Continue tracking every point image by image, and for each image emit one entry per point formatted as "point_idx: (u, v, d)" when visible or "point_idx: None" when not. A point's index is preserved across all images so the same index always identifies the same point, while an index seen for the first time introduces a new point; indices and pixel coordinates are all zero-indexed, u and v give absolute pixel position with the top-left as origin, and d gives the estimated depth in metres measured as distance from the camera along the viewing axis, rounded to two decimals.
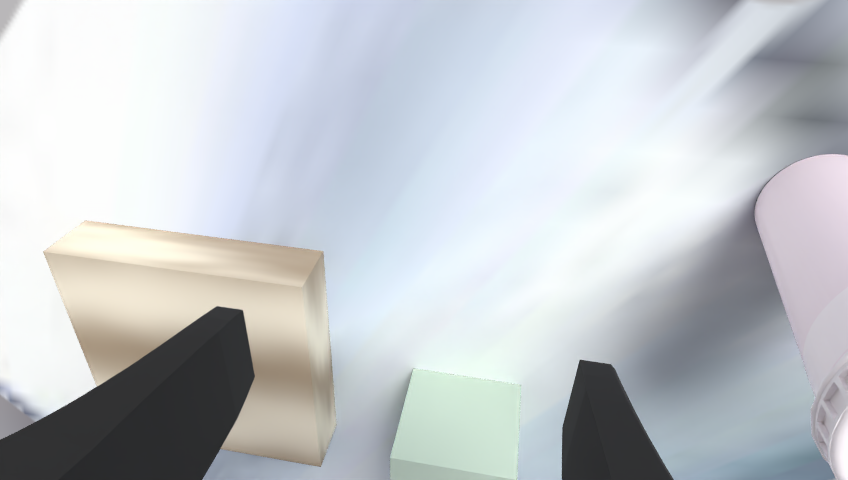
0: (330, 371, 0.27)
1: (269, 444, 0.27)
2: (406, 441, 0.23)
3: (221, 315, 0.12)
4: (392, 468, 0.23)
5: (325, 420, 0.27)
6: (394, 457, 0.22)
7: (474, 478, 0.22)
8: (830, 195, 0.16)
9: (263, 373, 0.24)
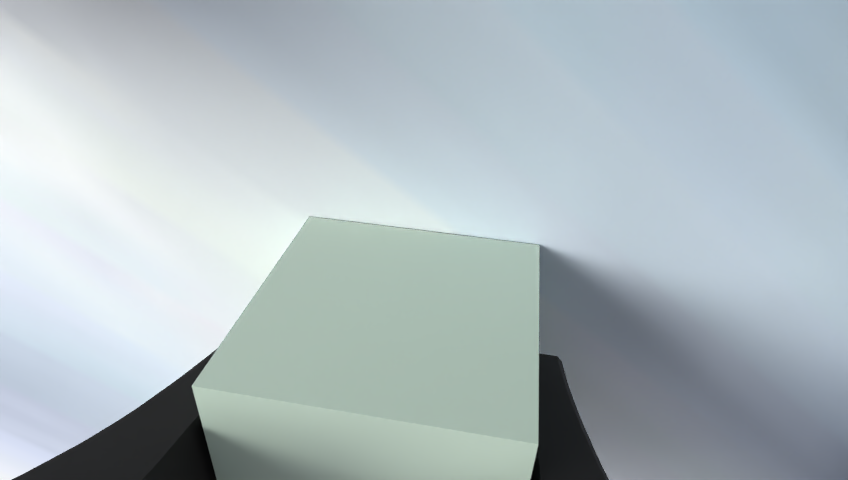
0: None
1: None
2: None
3: None
4: None
5: None
6: None
7: (231, 459, 0.09)
8: None
9: None
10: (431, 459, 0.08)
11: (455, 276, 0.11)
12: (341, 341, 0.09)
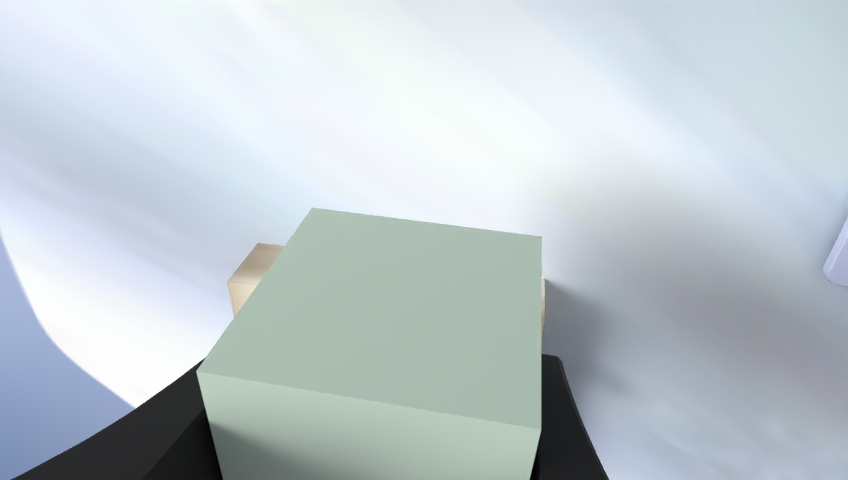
0: None
1: None
2: None
3: None
4: None
5: None
6: None
7: (235, 445, 0.09)
8: None
9: None
10: (434, 445, 0.08)
11: (458, 266, 0.11)
12: (345, 329, 0.09)
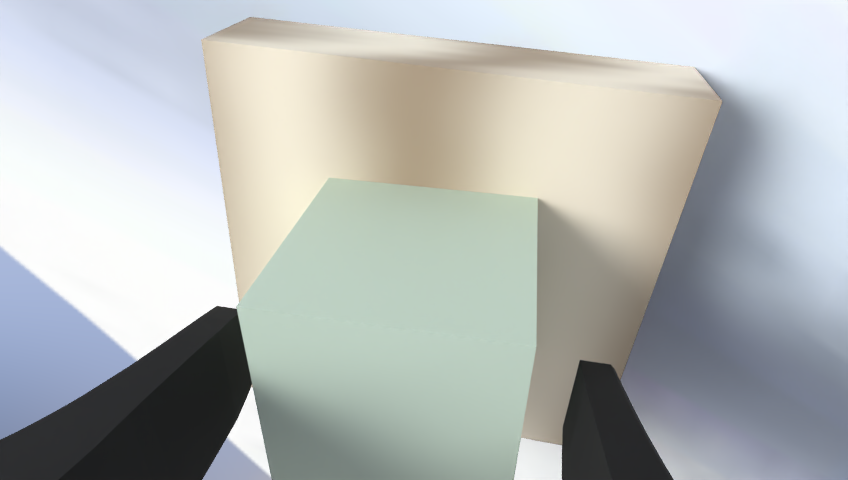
0: (515, 49, 0.14)
1: (635, 203, 0.13)
2: None
3: (220, 315, 0.12)
4: None
5: (610, 73, 0.12)
6: (272, 479, 0.12)
7: (268, 377, 0.10)
8: None
9: (421, 160, 0.13)
10: (444, 366, 0.09)
11: (462, 223, 0.12)
12: (363, 273, 0.10)
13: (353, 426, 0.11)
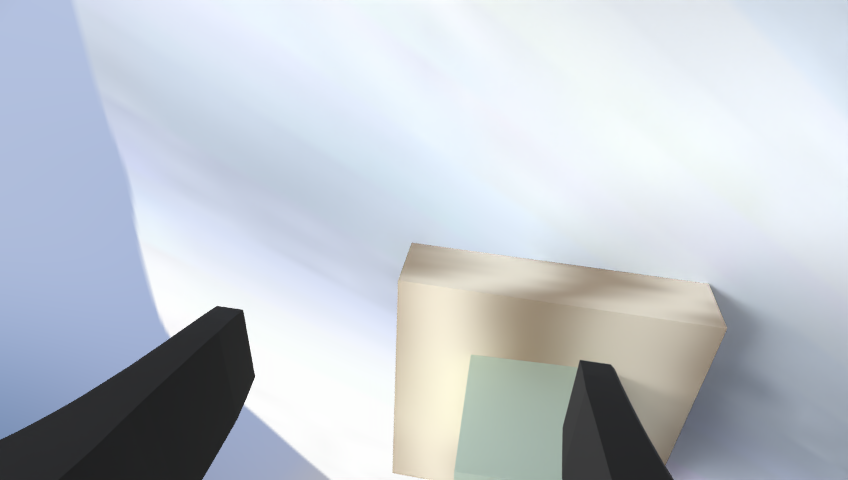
0: (591, 270, 0.21)
1: (672, 377, 0.20)
2: None
3: (220, 315, 0.12)
4: None
5: (656, 298, 0.20)
6: None
7: None
8: None
9: (534, 348, 0.20)
10: None
11: (566, 396, 0.19)
12: (517, 442, 0.18)
13: None
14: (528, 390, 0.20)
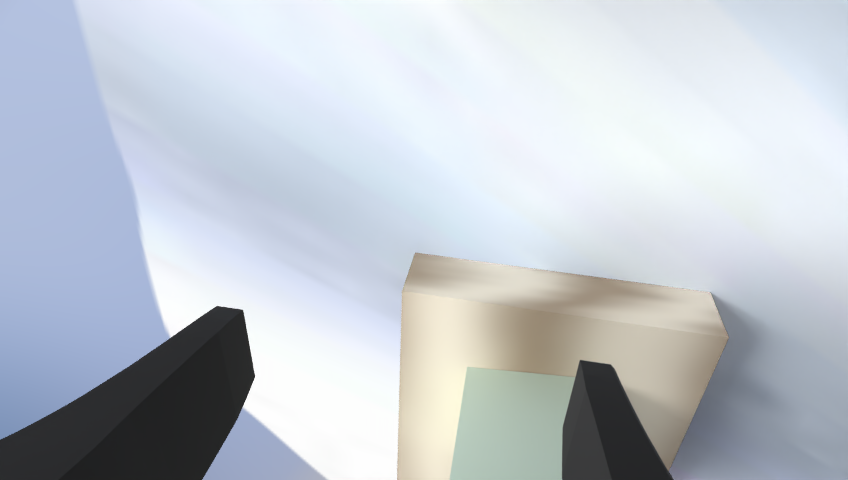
0: (593, 279, 0.21)
1: (674, 385, 0.20)
2: None
3: (220, 315, 0.12)
4: None
5: (658, 307, 0.20)
6: None
7: None
8: None
9: (537, 357, 0.20)
10: None
11: (560, 406, 0.19)
12: (512, 454, 0.18)
13: None
14: (523, 401, 0.20)
